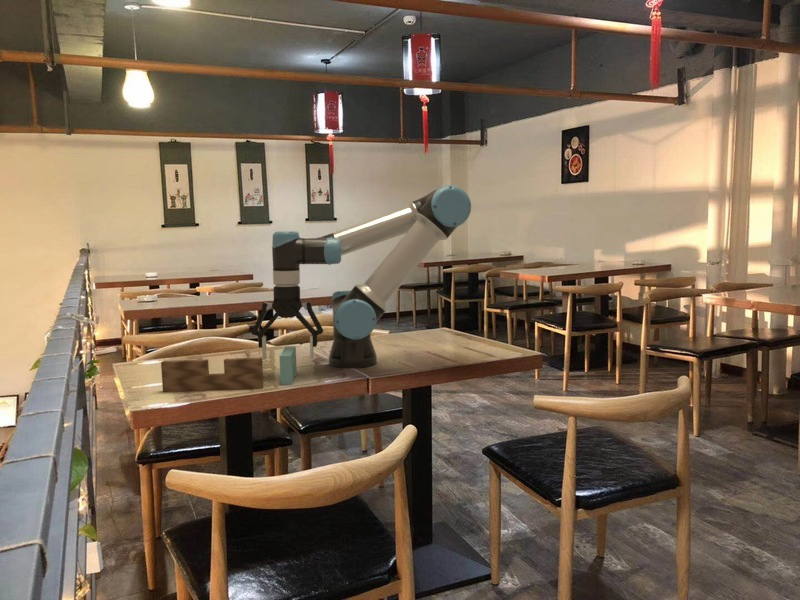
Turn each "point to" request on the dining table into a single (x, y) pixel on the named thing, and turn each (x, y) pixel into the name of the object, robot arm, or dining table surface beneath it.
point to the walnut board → (211, 375)
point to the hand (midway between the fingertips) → (288, 358)
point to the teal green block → (288, 365)
